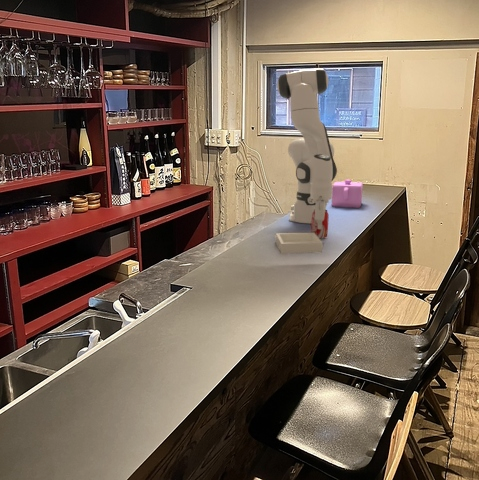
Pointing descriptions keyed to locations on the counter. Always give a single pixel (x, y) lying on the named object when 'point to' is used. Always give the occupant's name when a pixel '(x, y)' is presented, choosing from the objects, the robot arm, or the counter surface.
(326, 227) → the soda can
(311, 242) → the tray
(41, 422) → the counter surface
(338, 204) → the teapot
